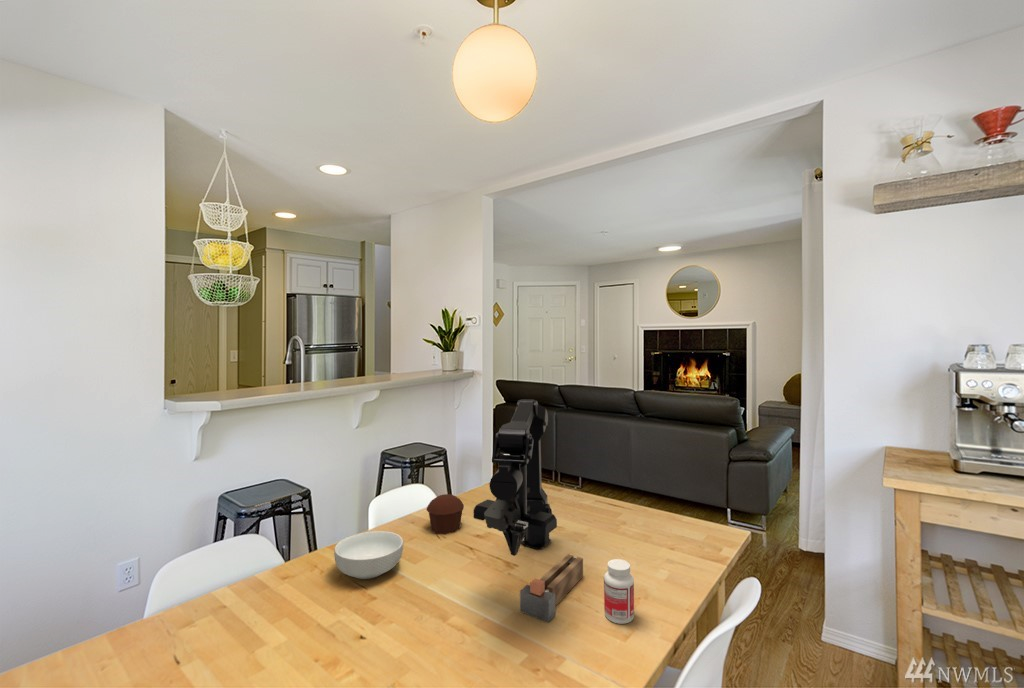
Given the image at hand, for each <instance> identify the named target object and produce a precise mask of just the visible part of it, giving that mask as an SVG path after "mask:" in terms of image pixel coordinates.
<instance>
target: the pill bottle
mask: <svg viewBox="0 0 1024 688" xmlns="http://www.w3.org/2000/svg"><path fill="white" fill-rule="evenodd" d="M634 582H635V580H634V577H633V575H632V574H631V564H630V563H629V562H628V561H627V560H625V559H621V558H615V559H611V560H609V561H608V562H607V571H606V572H605V573H604V576H603V599H604V601H603V606H604V607H603V608H604V609H603V610H604V615H605V617H606V618H607V620H609V621H610V622H612V623H615V624H619V625H620V624H622V625H623V624H624V625H625V624H628V623H630V622H632V621H633V620H634V618H635V583H634Z"/></svg>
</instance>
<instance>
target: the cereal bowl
mask: <svg viewBox="0 0 1024 688" xmlns="http://www.w3.org/2000/svg"><path fill="white" fill-rule="evenodd" d="M403 550H404V539H403V538H402V537H401V535H399V534H397V533H395V532H392V531H387V530H374V531H373V530H371V531H365V532H360V533H356V534H353V535H351V536H347V537H345V538H343V539H342V540H339V542H337V544H336V545H335V547H334V551H333V553H334V555H333V556H334V561H335V565H336V567H337V568H338V569H337V570H339V571H340V572H341V573H342V574H345V575H346V576H349V577H354V578H357V579H360V580H369V579H374V578H378V577H379V576H381V575H382V574H384V573H387V572H388V571H391V569H393V568H394V567H395V566H396V565H397V564H398V563H399V562H400V560H401V558H402V556H403Z"/></svg>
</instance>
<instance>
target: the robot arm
mask: <svg viewBox="0 0 1024 688" xmlns="http://www.w3.org/2000/svg"><path fill="white" fill-rule="evenodd" d="M548 423H549V414H548V411H547V408H546V407H545V406H543V405H541V404H539V403H538V400H535V399H519V400H517V403H516V406H515V411H514V414H513V415H512V418H511V420H510V422H507V423H504V424H502V425H501V427H499V430H498V432H496V433H495V437H494V443H493V444H494V445H493V451H492V458H491V463H493V464H495V463H497V464H498V469H497V471H496V472H495V473H494V474H493V475H492V477H491V478H490V480H489V491H490V492H491V494H492V495H493V497H495V498H496V499H495V500H491V499H485V500H483V501H482V502H480V503H478V504H476V505H475V506H474V508H473V519H475V520H479V521H481V522H482V521H485V524H486V527H487V528H488V529H495V530H497V531H499V532H502V534H503V535H504V536H503V537H504V538H505V540H506V541H505V542H506V544H507V546H508V549H509V552H510V555H511V556H513V557H515V556H517V554H518V553H519V550H520V547H521V546H526V547H528V548H532V549H536V550H539V551H540V550H543V548H544V547H546V546H547V545H548V544H550V543H551V541H552V540H551V539H550V533H551V532H552V531H554V530H555V529H557V527H558V520H557V516H556V515H555V514H553V509H552V508H551V505H550V503H549V501H548V499H549V498H548V495H547V493H546V491H545V490H544V489H543V487H542V486H543V484H542V483H543V482H542V453H541V452H542V451H541V450H542V449H541V448H542V447H541V444H542V443H541V439H542V437H543V435H544V434H545V431H546V429H547V426H548ZM504 454H510V455H504Z"/></svg>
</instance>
